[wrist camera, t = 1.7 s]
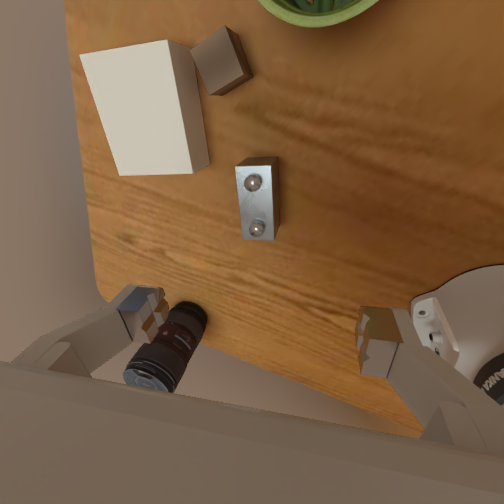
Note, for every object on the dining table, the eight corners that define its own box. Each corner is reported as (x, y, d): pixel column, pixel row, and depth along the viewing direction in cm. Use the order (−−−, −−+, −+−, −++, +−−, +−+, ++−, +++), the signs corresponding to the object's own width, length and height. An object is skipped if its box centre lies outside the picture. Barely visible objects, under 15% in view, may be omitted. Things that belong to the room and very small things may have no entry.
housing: (280, 224, 36) (273, 243, 31) (252, 223, 37) (241, 242, 32) (278, 156, 31) (269, 167, 26) (246, 157, 32) (232, 168, 27)
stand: (210, 163, 34) (192, 173, 29) (144, 166, 36) (119, 175, 32) (192, 48, 28) (167, 39, 23) (114, 61, 30) (79, 54, 26)
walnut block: (253, 77, 28) (243, 74, 24) (222, 95, 29) (209, 95, 26) (237, 34, 26) (224, 25, 23) (205, 56, 28) (189, 50, 24)
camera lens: (168, 294, 48) (114, 363, 36) (208, 302, 47) (166, 376, 34) (174, 325, 53) (127, 395, 40) (211, 333, 51) (174, 409, 38)
